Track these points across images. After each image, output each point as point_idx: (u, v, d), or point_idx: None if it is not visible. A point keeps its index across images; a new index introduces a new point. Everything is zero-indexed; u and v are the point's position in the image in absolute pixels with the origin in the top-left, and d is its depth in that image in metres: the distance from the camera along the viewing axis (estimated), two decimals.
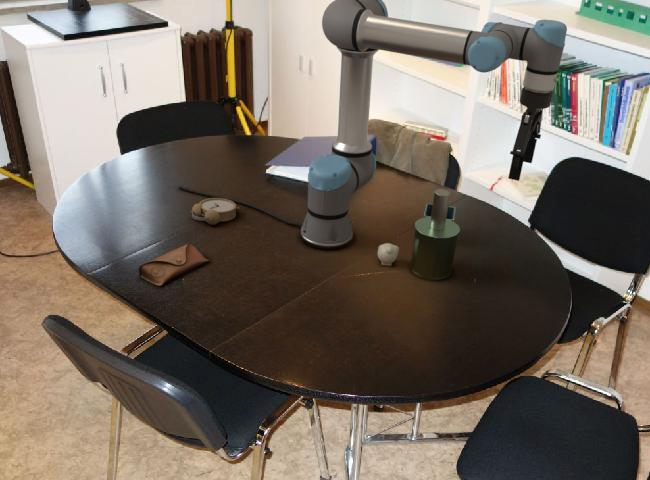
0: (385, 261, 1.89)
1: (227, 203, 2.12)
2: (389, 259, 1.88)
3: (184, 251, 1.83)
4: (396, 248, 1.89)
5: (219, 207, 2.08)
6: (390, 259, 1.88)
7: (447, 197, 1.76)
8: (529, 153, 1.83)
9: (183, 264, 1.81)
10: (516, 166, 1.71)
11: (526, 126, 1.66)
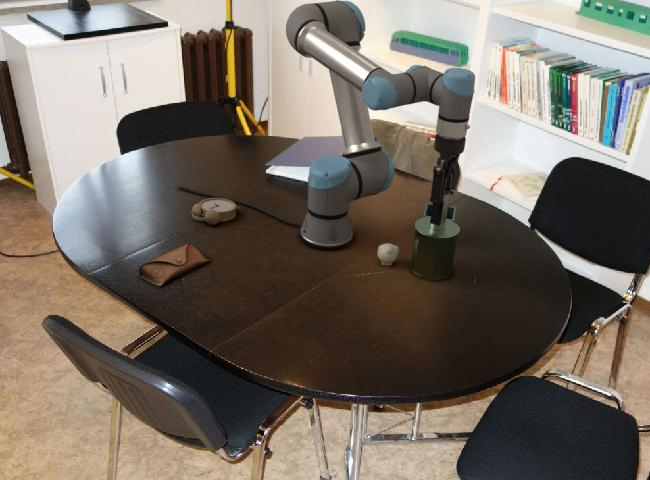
0: (385, 261, 1.89)
1: (227, 203, 2.12)
2: (389, 259, 1.88)
3: (184, 251, 1.83)
4: (396, 248, 1.89)
5: (219, 207, 2.08)
6: (390, 259, 1.88)
7: (447, 197, 1.76)
8: None
9: (183, 264, 1.81)
10: (436, 212, 1.76)
11: (439, 178, 1.69)
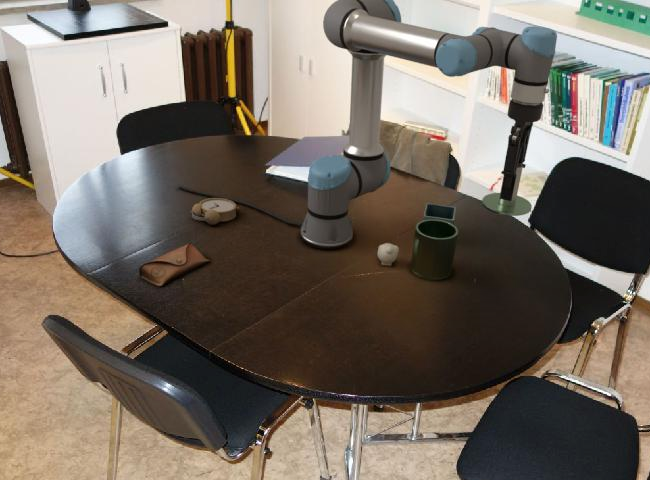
0: (385, 261, 1.89)
1: (227, 203, 2.12)
2: (389, 259, 1.88)
3: (184, 251, 1.83)
4: (396, 248, 1.89)
5: (219, 207, 2.08)
6: (390, 259, 1.88)
7: (520, 169, 1.63)
8: None
9: (183, 264, 1.81)
10: (508, 186, 1.63)
11: (514, 147, 1.56)
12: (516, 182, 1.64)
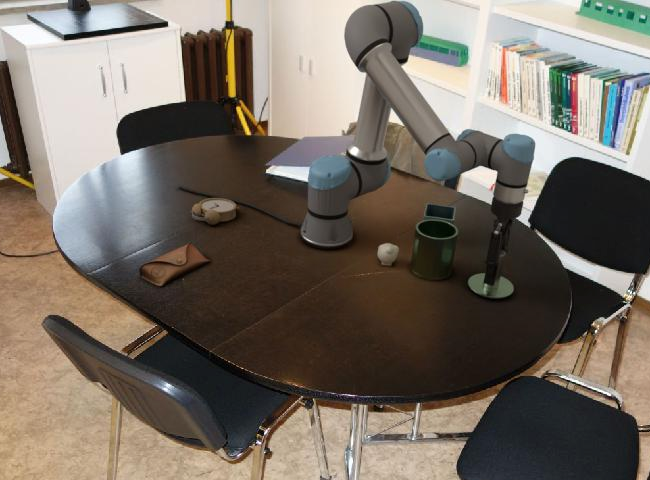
0: (385, 261, 1.89)
1: (227, 203, 2.12)
2: (389, 259, 1.88)
3: (184, 251, 1.83)
4: (396, 248, 1.89)
5: (219, 207, 2.08)
6: (390, 259, 1.88)
7: (503, 257, 1.76)
8: None
9: (183, 264, 1.81)
10: (490, 273, 1.76)
11: (496, 241, 1.69)
12: (499, 268, 1.77)
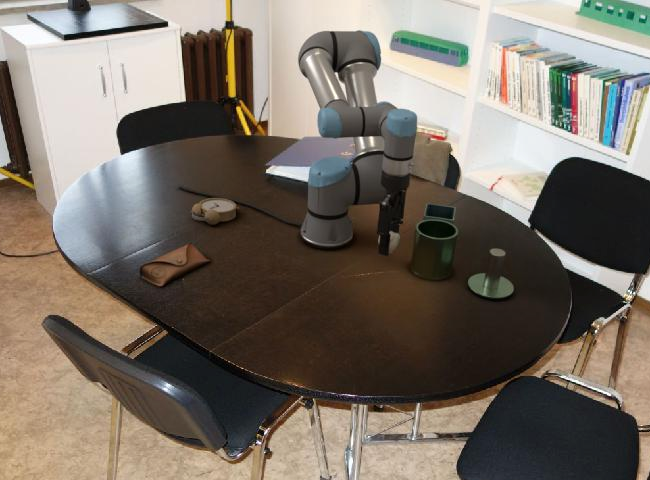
0: None
1: (227, 203, 2.12)
2: (390, 247, 1.86)
3: (184, 251, 1.83)
4: (397, 236, 1.87)
5: (219, 207, 2.08)
6: (391, 247, 1.86)
7: (503, 257, 1.76)
8: None
9: (184, 264, 1.81)
10: (383, 244, 1.84)
11: (385, 211, 1.77)
12: (499, 268, 1.77)
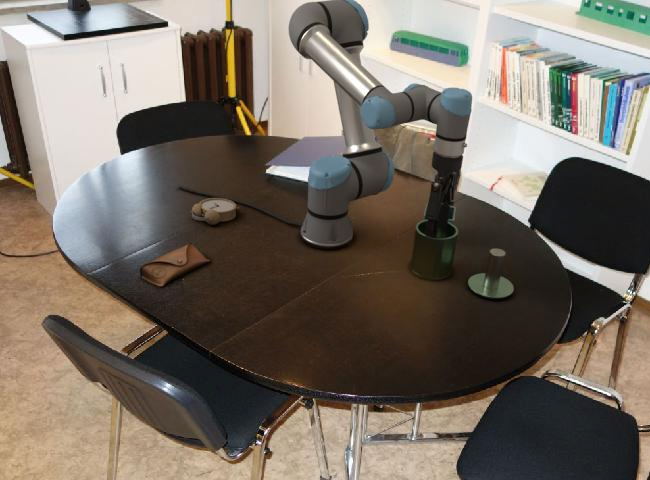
0: None
1: (227, 203, 2.12)
2: None
3: (185, 251, 1.83)
4: None
5: (219, 207, 2.08)
6: None
7: (503, 257, 1.76)
8: (443, 219, 1.85)
9: (184, 264, 1.81)
10: (431, 229, 1.77)
11: (436, 193, 1.71)
12: (499, 268, 1.77)
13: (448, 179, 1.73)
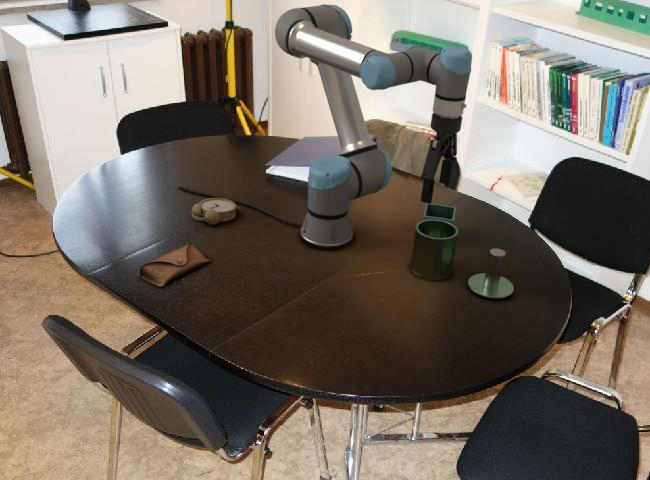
0: None
1: (227, 203, 2.12)
2: None
3: (185, 251, 1.83)
4: None
5: (219, 207, 2.08)
6: None
7: (503, 257, 1.76)
8: (446, 175, 1.85)
9: (184, 264, 1.81)
10: (426, 190, 1.73)
11: (434, 151, 1.68)
12: (499, 268, 1.77)
13: (447, 141, 1.71)
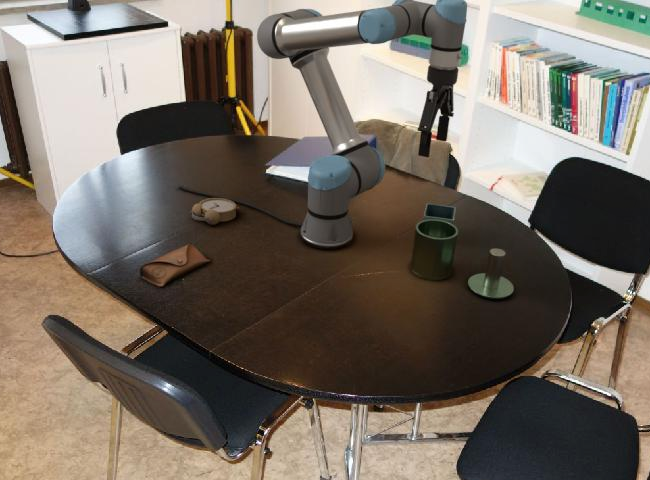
0: None
1: (227, 203, 2.12)
2: None
3: (185, 251, 1.83)
4: None
5: (219, 207, 2.08)
6: None
7: (503, 257, 1.76)
8: (443, 131, 1.85)
9: (184, 264, 1.81)
10: (424, 143, 1.74)
11: (431, 102, 1.69)
12: (499, 268, 1.77)
13: (443, 93, 1.72)
